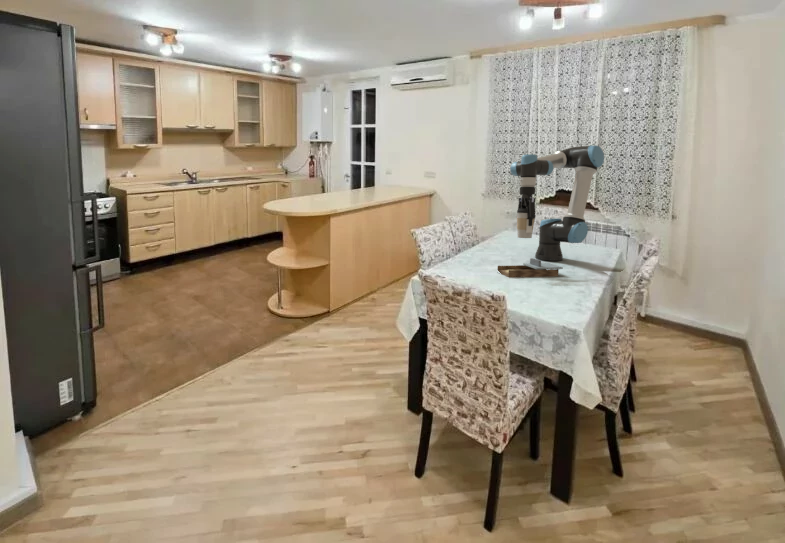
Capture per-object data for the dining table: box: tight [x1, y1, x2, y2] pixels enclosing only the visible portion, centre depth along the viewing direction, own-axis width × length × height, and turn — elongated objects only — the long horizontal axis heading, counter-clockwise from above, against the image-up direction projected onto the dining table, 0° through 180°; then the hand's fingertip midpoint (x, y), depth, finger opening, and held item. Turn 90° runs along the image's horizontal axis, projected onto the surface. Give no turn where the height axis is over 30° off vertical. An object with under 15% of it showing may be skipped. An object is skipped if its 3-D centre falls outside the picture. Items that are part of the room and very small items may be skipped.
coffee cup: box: [516, 208, 536, 239], centre depth 241 cm, size 9×9×15 cm
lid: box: [523, 257, 564, 270], centre depth 246 cm, size 14×16×4 cm
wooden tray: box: [497, 264, 560, 278], centre depth 246 cm, size 26×16×4 cm, turn 99°
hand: (524, 231), depth 242 cm, fingers closed on coffee cup, 8 cm apart
